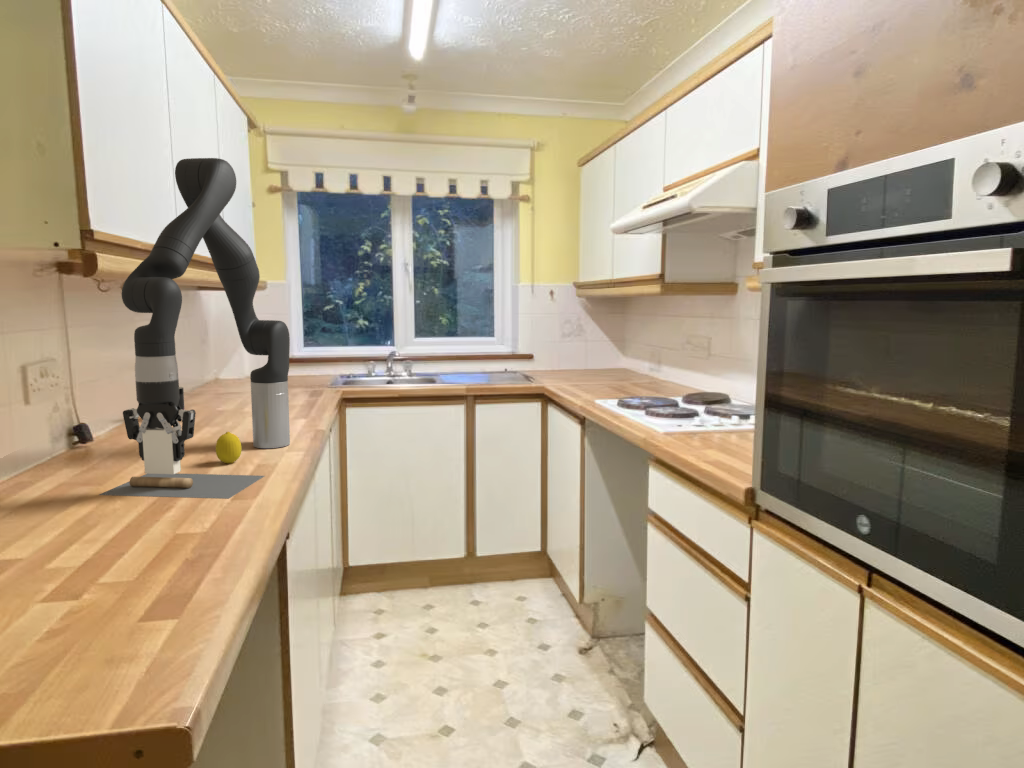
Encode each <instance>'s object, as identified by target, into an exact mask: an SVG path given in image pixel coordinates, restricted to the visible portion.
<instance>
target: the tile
mask: <svg viewBox="0 0 1024 768" xmlns="http://www.w3.org/2000/svg"><path fill="white" fill-rule="evenodd" d="M176 433H177V431H176ZM142 437H143V452H144V460H143V464H144V465H143V466H144V475H145V474H176V473H179V472H182V468H181V460H180V461H174V459H173V443H174V442H173V441H172V433H170V434H167V433H166V431H165V429H160V428H154V429H148V430H146V432H145V433H142Z"/></svg>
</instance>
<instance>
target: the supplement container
mask: <svg viewBox="0 0 1024 768" xmlns="http://www.w3.org/2000/svg"><path fill="white" fill-rule="evenodd" d="M184 391H185V390H184V387H183V386H179V396H180V398H179V406H180V407H181V409H183V410H186V409H185V392H184ZM177 420H178V421H179V422H182V421H181V416H179V417H178V419H177Z"/></svg>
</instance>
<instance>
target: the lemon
mask: <svg viewBox="0 0 1024 768" xmlns="http://www.w3.org/2000/svg"><path fill="white" fill-rule="evenodd" d="M239 438H240V437H238V436H237V435H236V434H234V433H232V432H231V431H226V432H225V433H223V434H222V435H220V436H219V437H218V438H217V440H216V443H215V454H216V457H217V458H218V460H219V461H221V462H222V463H224V464H226V465H229V464H233V463H234V462H236V461H238V459H240V456H241V455H242V443H241V440H240V439H239Z"/></svg>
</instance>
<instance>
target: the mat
mask: <svg viewBox="0 0 1024 768" xmlns="http://www.w3.org/2000/svg"><path fill="white" fill-rule="evenodd" d="M139 477H168V478H192V480H193V485H192V487H191V488H168V487H132V486H130V480H129V481H127V482H124V483H122V484H120V485H117V486H115V487H113V488H111V489H108V490H105V491H103V492H101V493H99V494H98V496H113V497H114V496H118V497H121V496H122V497H148V498H149V497H151V498H152V497H153V498H154V497H155V498H187V499H193V498H194V499H222V500H223V499H225V500H227V499H228V500H229V499H231V498H232V497H234V496H235V495H237V494H239V493H241V492H242V491H244V490H245V489H247V488H248V487H250V486H252V485H253V484H255V483H257V482H258V481H259V480H262V478H265V475H256V474H255V475H253V474H251V475H250V474H217V473H216V474H215V473H214V474H210V473H209V474H207V473H179V472H178V473H176V474H145V473H144V475H141V476H139Z"/></svg>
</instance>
